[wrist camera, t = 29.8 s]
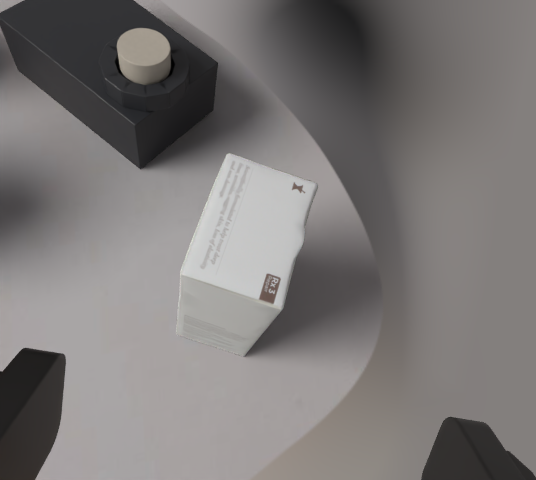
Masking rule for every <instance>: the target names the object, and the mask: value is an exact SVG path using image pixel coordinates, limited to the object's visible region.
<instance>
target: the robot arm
mask: <svg viewBox="0 0 536 480" xmlns="http://www.w3.org/2000/svg"><path fill="white" fill-rule="evenodd" d="M65 366H66V359H65V355H64V354H61V353H54V352H48V351H42V350H36V349H29V348H23V349H22V350H21V351H20V352H19V353H18V354H17V355H16V356H15V358H14V359H13V360H12V361H11V362H10V363H9V365H8V366H7V367H6V368H5V369H4V370H3V372H1V371H0V480H35V478H36V477H37V475H38V473H39V471H40V469H41V467H42V466H43V464H44V462H45V460H46V458H47V456H48V455H49V453H50V451H51V449H52V447H53V444H54V442H55V439H56V436H57V433H58V429H59V425H60V420H61V412H62V400H63V389H64V377H65ZM421 480H536V477H535V476H534V474H533V473H532V472H531V471H530V470H529V469H528V468H527V467H526V466H525V465H523V464H522V463H521V462H520V461H519V460H518V459H517V458H516V457H515V456H514V455H513V454H511V453H510V452H509V451H506V450H505V449H504V447H503V446H502V444H501V443H500V441H499V440H498V439H497V437H496V435H495V434H494V433H493V431H492V430H491V428H490V427H489V426H488V425H487V424H486V423H484V422H478V421H472V420H466V419H460V418H453V417H448V418H446V419H445V420H444V421H443V423H442V425H441V427H440V430H439V432H438V435H437V437H436V440H435V443H434V445H433V448H432V450H431V453H430V455H429V458H428V460H427V463H426V465H425V468H424V470H423V473H422V479H421Z"/></svg>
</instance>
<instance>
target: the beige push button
mask: <svg viewBox="0 0 536 480" xmlns="http://www.w3.org/2000/svg"><path fill="white" fill-rule="evenodd" d="M117 51H118V58H119V65H120V70H121V72H122V74H123V75H124V76H125V77H126V78H127V79H128V80H130V81H132V82H134V83H138V84H143V85H149V84H156V83H159V82H161V81H163V80H164V79H166V78H167V76H168V75H169V73H170V70H171V52H170V44H169V42H168V40H167V39H166V38H165V36H163V35H162V34H161V33H159V32H157V31H155V30H152V29H147V28H136V29H132V30H129V31H127V32H125V33H124V34H122V35H121V36H120V38H119V40H118V42H117Z"/></svg>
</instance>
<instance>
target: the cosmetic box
mask: <svg viewBox="0 0 536 480" xmlns="http://www.w3.org/2000/svg"><path fill="white" fill-rule="evenodd" d="M317 189H318V184H317V183H316V182H312V181H309V180H306V179H303V178H300V177H297V176H294V175H291V174H288V173H285V172H282V171H279V170H276V169H273V168H270V167H266V166H264V165H261V164H258V163H255V162H253V161H250V160H247V159H245V158H242V157H239V156H236V155H233V154H230V153H228V154H227V155H226V157H225V160H224V162H223V164H222V167H221V169H220V171H219V174H218V176H217V178H216V181H215V183H214V185H213V188H212V190H211V193H210V195H209V198H208V200H207V203H206V205H205V208H204V210H203V213H202V215H201V218H200V221H199V223H198V226H197V228H196V231H195V234H194V236H193V239H192V241H191V244H190V246H189V249H188V252H187V254H186V257H185V260H184V263H183V265H182V268H181V272H180V294H179V300H178V313H177V327H176V334H177V335H178V336H182V337H185V338H188V339H191V340H194V341H197V342H200V343H203V344H206V345H210V346H213V347H216V348H219V349H222V350H225V351H228V352H231V353H234V354H237V355H240V356H243V357H244V356H245V355H246V354H247V352H248V351H249V350H250V349H251V347H252V346H253V345H254V344H255V342H256V341H257V340H258V339H259V338H260V336H261V335H262V334H263V333H264V331H265V330H266V329H267V328H268V327H269V325H270V324H271V323H272V322H273V321H274V319H275V318H276V317H277V316H278V314H279V313H280V312H281V311H282V310H283V308H284V304H285V300H286V296H287V292H288V288H289V284H290V280H291V276H292V273H293V269H294V265H295V262H296V258H297V254H298V253H299V251H300V250H301V248H302V246H303V242H304V238H305V230H304V229H305V225H306V221H307V218H308V214H309V211H310V208H311V205H312V202H313V199H314V197H315V194H316V191H317Z"/></svg>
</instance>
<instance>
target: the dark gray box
mask: <svg viewBox="0 0 536 480" xmlns="http://www.w3.org/2000/svg"><path fill="white" fill-rule="evenodd" d="M0 26H1V29H2V31H3V34H4V36H5V39H6V41H7V44H8V46H9V49H10V51H11V54H12V56H13V59H14V61H15V64H16V66H17V69H18V70H19V71H20V72H21V73H22V74H24V75H25V76H26V77H27V78H29V79H30V80H31V81H32V82H33V83H35V84H36V85H37V86H38V87H40V88H41V89H42V90H43V91H45V92H46V93H47V94H48V95H49V96H51V97H52V98H53V99H54V100H56V101H57V102H58V103H59V104H61V105H62V106H63V107H64V108H66V109H67V110H68V111H69V112H70V113H72V114H73V115H74V116H75V117H77V118H78V119H79V120H80V121H82V122H83V123H84V124H85V125H86V126H88V127H89V128H90V129H91V130H93V131H94V132H95V133H96V134H98V135H99V136H100V137H101V138H103V139H104V140H105V141H106V142H107V143H109V144H110V145H111V146H112V147H114V148H115V149H116V150H117V151H119V152H120V153H121V154H122V155H123V156H125V157H126V158H127V159H128V160H130V161H131V162H132V163H133V164H135V165H136V166H137V167H138V168H140V169H141V168H143V167H144V166H145V165H146V164H147V163H149V162H150V161H151V160H152V159H154V158H155V157H156V156H157V155H159V154H160V153H161V152H162V151H163V150H165V149H166V148H167V147H168V146H170V145H171V144H172V143H173V142H174V141H176V140H177V139H178V138H179V137H181V136H182V135H183V134H184V133H186V132H187V131H188V130H189V129H190V128H192V127H193V126H194V125H195V124H197V123H198V122H199V121H200V120H201V119H203V118H204V117H205V116H206V115H208V114H209V113H210V112H211V111H213V107H214V97H215V87H216V77H217V67H218V63H217V62H216V61H215V60H213V59H212V58H211V57H209V56H208V55H207V54H205V53H204V52H203V51H201V50H200V49H198V48H197V47H196V46H194V45H193V44H192V43H190V42H189V41H188V40H186V39H185V38H184V37H182V36H181V35H180V34H178V33H177V32H175V31H174V30H173V29H171V28H170V27H169V26H167V25H166V24H165V23H163V22H162V21H161V20H159V19H158V18H157V17H155V16H154V15H153V14H151V13H150V12H148V11H147V10H146V9H144V8H143V7H142V6H140V5H139V4H138V3H136V2H135V1H134V0H24V1H22V2H20V3H18V4H16V5H14V6H13V7H11V8H9V9H7V10H5V11H3V12H1V13H0ZM136 28H147V29H152V30H155V31H157V32H159V33H161V34H162V35H163V36H165V38H166V39H167V40H168V42H169V44H170V52H171V70H170V73H169V75H168V76H167V78H166V79H164V80H163V81H161V82H159V83H156V84H149V85H143V84H138V83H134V82H132V81H130V80H128V79H127V78H126V77H125V76H124V75H123V74H122V72H121V70H120V65H119V58H118V51H117V42H118V40H119V38H120V36H121V35H122V34H124V33H125V32H127V31H129V30H132V29H136Z"/></svg>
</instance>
